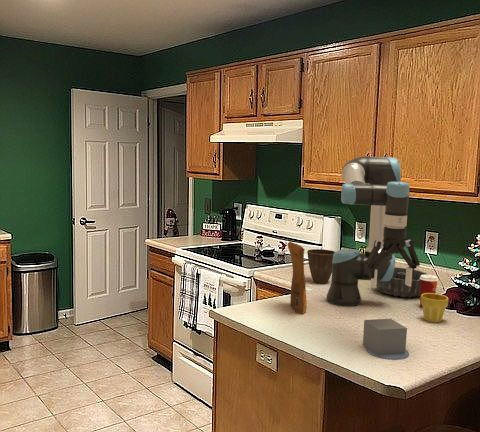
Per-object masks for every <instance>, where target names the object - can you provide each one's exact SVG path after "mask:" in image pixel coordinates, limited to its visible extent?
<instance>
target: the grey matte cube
mask: <svg viewBox="0 0 480 432" xmlns="http://www.w3.org/2000/svg"><path fill="white" fill-rule="evenodd" d="M407 333H408V327H406V326H404V325H402V324H401V323H399V322H398V321H395V320H394V319H392V318H376V319H364V320H363V335H362V345H363V346H364V347H365V348H366V347H367V348H369V349H370V350H371V351H373V352H374V353H375V354H377V355H387V354H400V353H405V351H406V350H407V349H406V348H407Z"/></svg>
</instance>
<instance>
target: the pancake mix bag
mask: <svg viewBox="0 0 480 432" xmlns="http://www.w3.org/2000/svg"><path fill="white" fill-rule="evenodd" d="M287 248H288V252H289V254H290V258H291V259H290V260H291V265H292V267H291V268H292V278H291V284H290V285H291V286H290V306H291V308H292V309H293V312H294V313H296V314H300V315H304V314H306V312H307V308H308V306H307V304H308V303H307V290H306V289H307V288H306V287H307V286H306V278H305V277H306V276H305V259H304V258H305V248H304V247H302V245H300V244H298V243H294V242H292V241H288V243H287Z"/></svg>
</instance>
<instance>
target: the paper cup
mask: <svg viewBox="0 0 480 432" xmlns="http://www.w3.org/2000/svg"><path fill="white" fill-rule="evenodd" d="M438 281H439V278H438V276H436V275H433V274H429V275H421V277H420V296H419V307H420V308H421V309H423V306H422V304H421V295H422V294H424V293H435V294H437V285H438Z"/></svg>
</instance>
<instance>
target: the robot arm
mask: <svg viewBox="0 0 480 432" xmlns="http://www.w3.org/2000/svg"><path fill="white" fill-rule="evenodd" d="M401 171H402V170H401V165H400V161H399V160H398V158H396V157H389V156H358V157H354V158H352V159H350V160H348V161H347V162H346V163H345V164H344V165H343V167H342V169H341V178H342V179H343V181H344V182H345V183H343V184H342V186H341V197H340V198H341V199H340V200H341V203H342V204H346V205H359V206H370V215H369V216H370V220H369V236H368V246H367V247H366V248H364V253H361V251H360V250H359V249H356V248H355V249H354V248H348V249H347V248H346V249H340V250H336V251H335V253H334V254H333V261H332V263H333V264H332V274H331V281H330V285H329V289H328V291H327V294H326V302H327V303H329V304H332V305H335V306H342V307H356V306H359V305H361V303H362V296H361V293H360V289H359V281H370V287H371V288H373V289H377V286H376V284H377V281H389V280H391V278H392V276H393V273H394V269H395V267H396V256H395V255H394V254H400V255H401V257H402V258H403V260H404V262H405V263H406V264H407V266H406V267H405V268H406V278H405V285H407V286H409V287H410V286H411V282H412V277H413V276H414V270H416V269H417V267H420V264H421V263H420V261H419V257H418V255H417V252H416V250H415V248H414V241H413V240H411V239H406V237H407V223H408V211H409V196H410V192H411V191H410V183H408V182H405V181H401V180H402V175H401V174H402V172H401ZM405 246H406V248H407V250H405V248H404V247H405ZM407 252H408V253H409V255H408V254H407Z"/></svg>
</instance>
